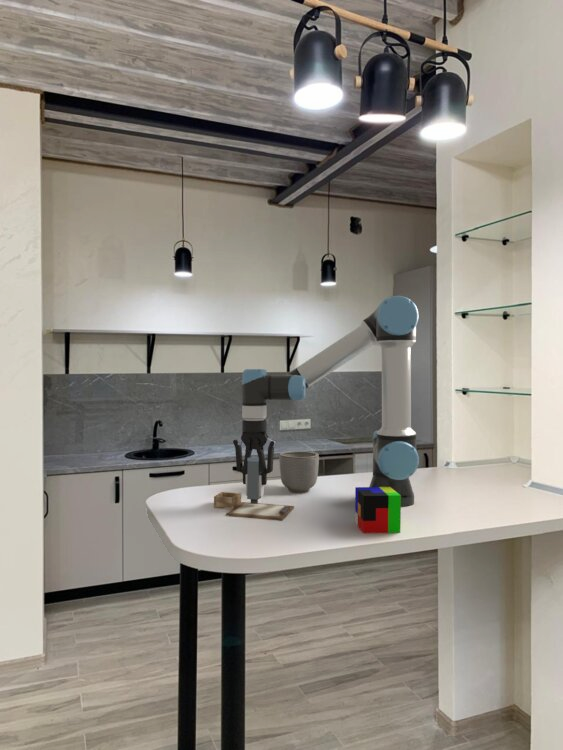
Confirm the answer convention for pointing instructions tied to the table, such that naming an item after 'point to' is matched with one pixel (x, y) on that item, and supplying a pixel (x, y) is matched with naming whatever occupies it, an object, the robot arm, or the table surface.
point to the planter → (299, 470)
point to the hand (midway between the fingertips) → (254, 494)
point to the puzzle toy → (377, 509)
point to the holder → (227, 500)
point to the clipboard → (261, 511)
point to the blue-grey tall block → (253, 479)
